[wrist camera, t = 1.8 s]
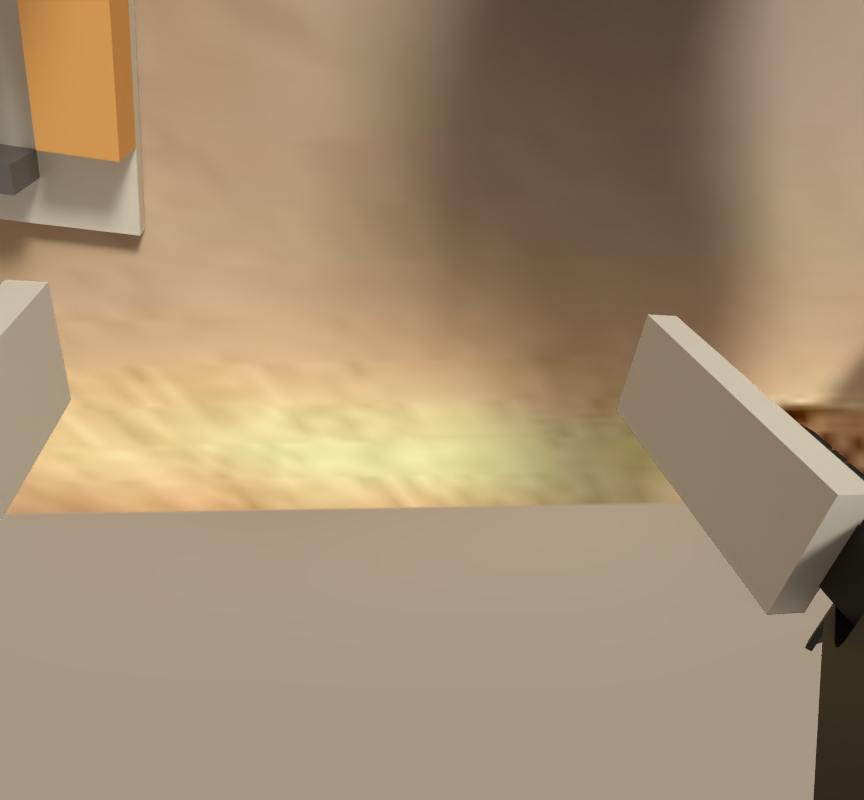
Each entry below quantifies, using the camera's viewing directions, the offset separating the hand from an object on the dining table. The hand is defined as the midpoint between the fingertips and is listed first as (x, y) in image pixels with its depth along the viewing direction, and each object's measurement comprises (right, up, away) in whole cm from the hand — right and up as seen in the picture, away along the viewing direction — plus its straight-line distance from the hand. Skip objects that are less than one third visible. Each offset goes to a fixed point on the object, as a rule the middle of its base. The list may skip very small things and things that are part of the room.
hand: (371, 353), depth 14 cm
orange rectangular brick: (-12, +14, +11) cm, 21 cm away
